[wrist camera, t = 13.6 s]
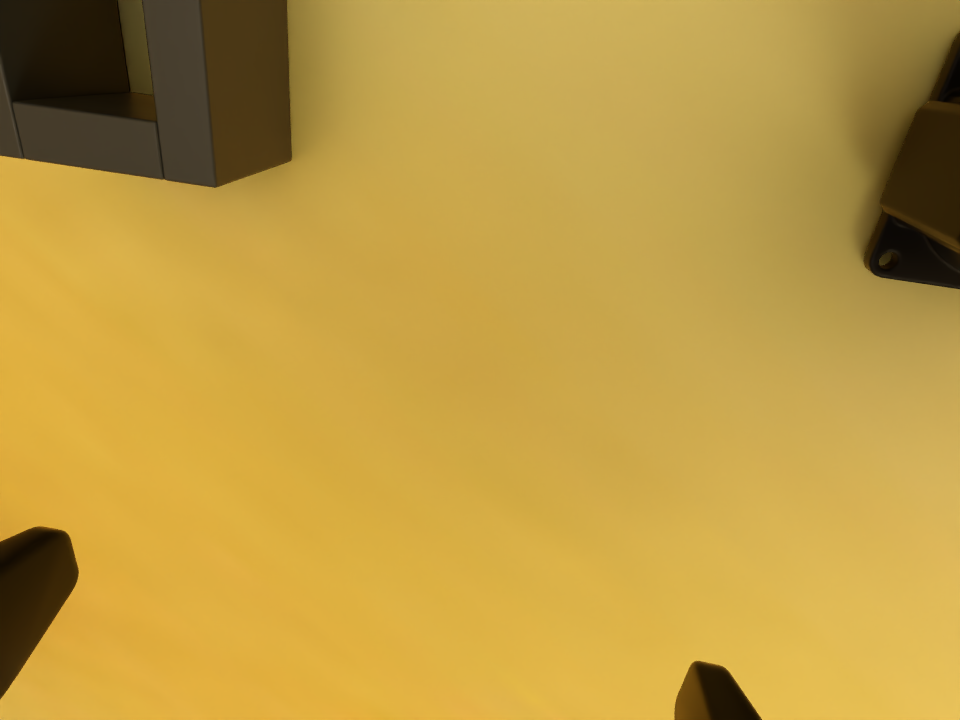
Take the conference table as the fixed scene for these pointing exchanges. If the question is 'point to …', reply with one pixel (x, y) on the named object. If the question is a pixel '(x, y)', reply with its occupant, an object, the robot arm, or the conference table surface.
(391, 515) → the conference table surface
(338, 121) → the conference table surface
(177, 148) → the organiser
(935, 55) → the conference table surface
